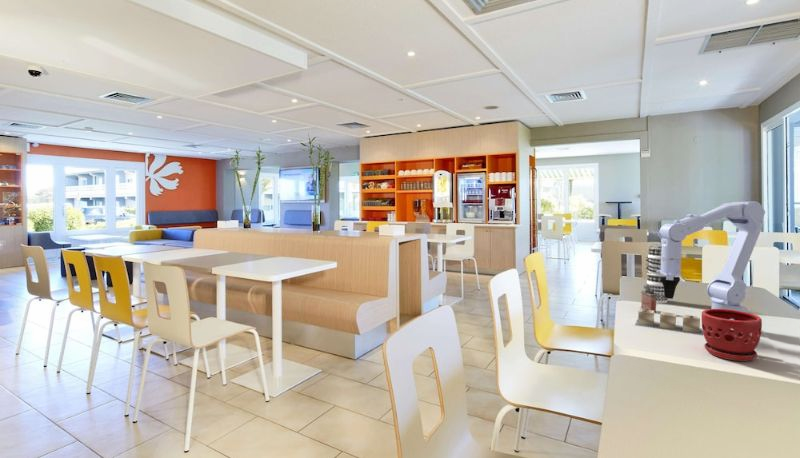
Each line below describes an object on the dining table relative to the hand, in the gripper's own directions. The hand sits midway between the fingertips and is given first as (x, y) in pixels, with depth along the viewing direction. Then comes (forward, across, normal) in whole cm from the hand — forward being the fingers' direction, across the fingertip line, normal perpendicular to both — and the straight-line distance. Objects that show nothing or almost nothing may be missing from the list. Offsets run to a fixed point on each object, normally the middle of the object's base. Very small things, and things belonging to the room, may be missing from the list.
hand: (669, 298), depth 141 cm
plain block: (+10, 0, 0) cm, 10 cm away
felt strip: (+10, 0, 0) cm, 10 cm away
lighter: (+11, -23, -7) cm, 26 cm away
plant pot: (+11, +22, +15) cm, 28 cm away
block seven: (+10, 0, -6) cm, 12 cm away
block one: (+10, 0, +6) cm, 12 cm away
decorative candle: (+11, -47, -5) cm, 48 cm away
